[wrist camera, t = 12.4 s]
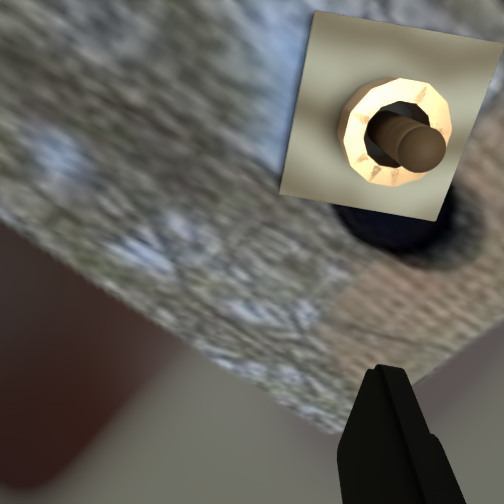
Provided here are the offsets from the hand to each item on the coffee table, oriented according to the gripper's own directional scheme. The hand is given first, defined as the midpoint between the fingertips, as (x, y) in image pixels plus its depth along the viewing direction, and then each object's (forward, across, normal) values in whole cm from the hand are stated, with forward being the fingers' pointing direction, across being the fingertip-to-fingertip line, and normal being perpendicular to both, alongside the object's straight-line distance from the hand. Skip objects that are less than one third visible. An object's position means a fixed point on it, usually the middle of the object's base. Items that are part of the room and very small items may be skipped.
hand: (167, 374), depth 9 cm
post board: (+28, -10, -4) cm, 30 cm away
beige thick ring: (+25, -10, -4) cm, 27 cm away
